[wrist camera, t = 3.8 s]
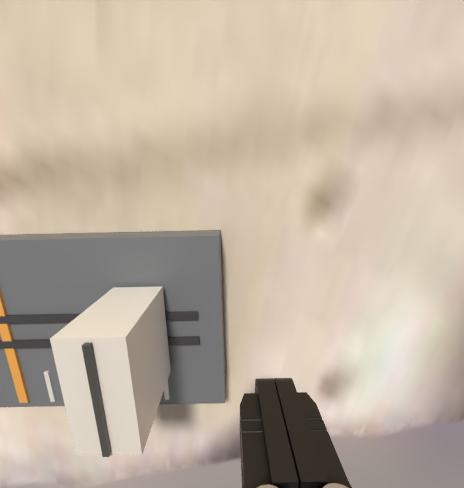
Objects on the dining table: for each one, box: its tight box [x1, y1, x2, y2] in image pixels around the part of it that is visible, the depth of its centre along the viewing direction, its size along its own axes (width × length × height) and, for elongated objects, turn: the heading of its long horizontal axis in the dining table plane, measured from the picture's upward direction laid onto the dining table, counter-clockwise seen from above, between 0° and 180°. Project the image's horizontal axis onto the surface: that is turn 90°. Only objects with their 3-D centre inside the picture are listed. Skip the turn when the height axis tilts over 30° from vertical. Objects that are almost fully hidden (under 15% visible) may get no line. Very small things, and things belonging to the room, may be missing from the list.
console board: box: [0, 230, 226, 407], centre depth 16 cm, size 20×12×2 cm, turn 91°
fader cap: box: [50, 286, 171, 457], centre depth 12 cm, size 3×6×5 cm, turn 1°
